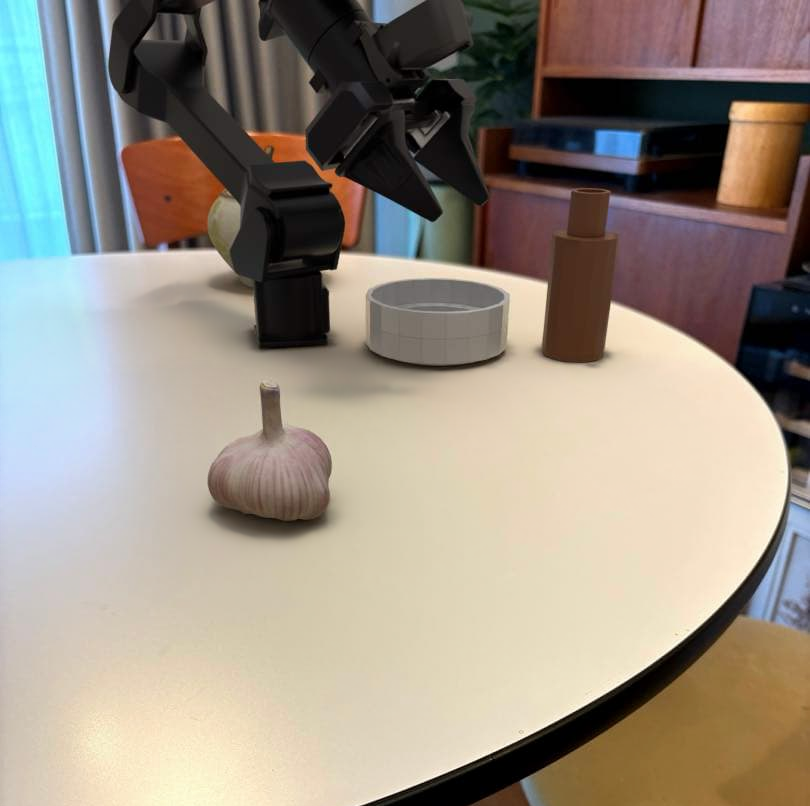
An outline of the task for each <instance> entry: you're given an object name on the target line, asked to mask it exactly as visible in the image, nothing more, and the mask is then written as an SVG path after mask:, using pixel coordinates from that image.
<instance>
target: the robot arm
mask: <svg viewBox="0 0 810 806" xmlns="http://www.w3.org/2000/svg"><path fill="white" fill-rule="evenodd" d="M216 1H217V0H128V1H127V3H126V4H125V5H124V7H123V8H122V9H121V11H120V12H119V14H118V15H117V16H116V18H115V19H114V21H113V23H112V28H111V35H110V43H109V52H108V60H107V69H108V76H109V80H110V83H111V86H112V87H113V90H114V91H115V92H116V93H117V95H118V96H119V98H120V100H122V102H123V103H124V104H125V105H127V106H128V107H129V108H131V109H132V110H133V111H135V112H136V113H137V114H139V115H142V116H144V117H148V118H150V119H153V120H157V121H158V122H159V121H160V122H162V123H165V124H167V125H168V126H169V127H170V128H171V129H172V130H173V132H174V133H175V134H176V135H177V136H178V137H179V138H180V139H181V141H183V142H184V144H185V145H186V146H187V147H188V148H189V149H190V151H192V153H193V155H195V156H196V157H197V158H198V159H199V161H200V162H201V163H202V164H203V165H204V166H205V167H206V169H208V170H209V172H210V174H212V175H213V176H214V177H215V178H216V180H217V181H218V182H219V183H220V184H221V185H222V186H223V188H225V189H226V190H227V191H228V192H229V193H230V194H231V195H232V196H233V197H234V198H235V200H236V201H237V202H238V203H239V205H240V230H239V232H238V234H237V236H236V238H235V240H234V242H233V244H232V246H231V248H230V256H231V260H232V264H233V268H234V271H235V272H234V271H233V272H234V274H235V275H237V274H238V275H241V276H244V277H247V278H250V279H252V282H253V287H252V295H253V307H254V317H255V318H254V319H255V324H254V325H253V331H254V335H255V338H256V341H257V344H258V347H259V348H276V347H279V348H280V347H293V346H294V347H295V346H296V347H297V346H310V345H311V346H312V345H325V344H328V343H329V337H328V335H327V334H328V333H330V332H331V319H330V317H331V315H330V291H329V288H328V287H327V286H326V284H325V283H323V273H322V272H324V271H336V270H337V269H338V266H339V261H340V255H341V251H342V245H343V240H344V235H345V230H346V219H345V213H344V211H343V209H342V205H341V203H340V200H338V198H337V197H336V195H335V194H334V193H333V192H332V191H331V189H332V188H333V183H332V182H329V181H326V180H325V179H323V178H322V177H321V176H320V174H319V173H318V171H317V170H316V169H315V168H314V166H313V165H312V164H311V163H309V162H308V161H307V160H293V161H291V160H290V161H279V162H275V161H274V160H273V158H272V159H271V158H270V157H269V156H268V155H267V154H266V153H265V150H264V149H263V148H262V147H261V146H260V145H259V144H258V143H257V142H256V141H255V140H254V139H253V138H252V137H251V136H250V135H249V134H248V132H247V131H246V130H245V129H244V128H243V127H242V126H241V125H240V124H239V123H238V122H237V121H236V120H235V119H234V117H232V115H230V113H229V112H228V111H227V110H226V109H225V108H224V107H223V106H222V105H221V104H220V103H219V102H218V101H217V100H216V99H215V98H214V97H213V95H211V94H210V92H208V90H207V89H206V88H205V87H204V86H205V66H206V61H207V57H208V53H209V51H208V49H209V48H208V46H207V42H206V39H205V37H204V33H203V30H202V27H201V24H200V16H201V11H202V8H203V7H205V6H207V5H210V4H211V3H215V2H216ZM257 4H258V9H259V18H258V23H257V29H258V37H259V39H260V40H261V41H262V42H267V41H270V40H274V39H276V38H281V37H284V36H286V37H287V39H288V40H289V41H290V43H291V44H292V46H293V47H294V49H295V50H296V51H297V52H298V54H299V55H300V56H301V58H302V59H303V60H304V62H305V63H306V64H307V66H308V67H309V68H310V70H311V71H312V72H313V74H314V75H313V76H312V77H311V78H310V79H309V81H308V84H309V85H310V87H311V88H312V89H313V91H314V92H315V93H316V94H329V95H330V96H329V98H328V99H327V101H326V102H325V103H324V104H323V106H322V107H321V108H320V110H319V111H318V113H317V114H316V115H315V116H314V117H313V119H312V120H311V121H310V123H309V124H308V125H307V126H306V128H305V129H304V134H305V135H304V136H305V137H304V138H305V151H306V152H307V153H308V155H309V156H310V158H311V159H312V160H313V161H314V163H315V164H316V165H317V167H318V168H319V169H320V171H321V172H325V171H330V170H334V174H335V175H336V176H337V177H339V178H345V179H348V180H349V181H351V182H353V183H355V184H357V185H359V186H362V187H364V188H366V189H368V190H370V191H371V192H374V193H376V194H378V195H380V196H382V197H384V198H385V199H387V200H390V201H391V202H393V203H395V204H396V205H398V206H401V207H402V208H404V209H406V210H407V211H410V212H411V213H413V214H415V215H417V216H418V217H421V218H423V219H424V220H426V221H429V222H430V223H435V222H436V221H438V220H439V219H440V218H441V217H442V216H443V214H444V210H443V208H442V206H441V204H440V202H439V200H438V198H437V196H436V193H435V192H434V191H433V189H432V187H431V186H430V184H429V183H428V180H427V179H426V177H425V175H424V173H423V172H422V170H421V168H420V167H419V165H420V166H421V167H423V168H424V169H426V170H427V171H428V172H430V173H432V174H433V175H434V176H435V177H437V178H438V179H440V180H441V181H443V182H444V183H445V184H447V185H448V186H449V187H451V189H454V190H455V191H456V192H458V193H459V194H460V195H462V196H463V197H465V198H466V199H467V200H468V201H471V202H472V203H473V204H475V205H476V206H478V207H482V206H483V205H484V204H486V203H487V202H488V201H489V200H490V197H491V196H490V193H489V189H488V188H487V185H486V181H485V179H484V177H483V174H482V171H481V169H480V168H481V167H480V165H479V163H478V160H477V158H476V154H475V153H474V149H473V146H472V143H471V140H470V136H469V130H470V124H471V119H472V116H473V114H474V113H475V103H476V101H477V98H478V97H477V96H476V94H475V93H474V92H473V90H472V89H471V88H470V86H469V85H468V84H467V82H466V81H465V79H464V78H463V79H462V78H461V79H460V78H432V79H430V78H431V77H432V75H431V73H430V71H428V68H430V67H432V66H434V65H436V64H438V63H439V62H441V61H443V60H445V59H447V58H449V57H450V56H453V55H454V54H456V53H460V54H461V53H465V52H466V51H467V50H469V49H470V48H472V47H473V46H474V41H473V36H472V34H471V31H470V28H471V27H473V24H474V16H473V14H471V13H469V12H468V11H467V10H466V8H465V5H464V2H463V1H461V0H423V1H422V2H420V3H419V4H417V5H416V6H413V7H412V8H410V9H409V10H407V11H405V12H404V13H401V14H400V15H399V16H397V17H395V18H394V19H392V20H390V21H389V22H374V21H373V20H372V18H371V17H370V15H369V14H368V13H367V11H366V10H365V9H364V8H363V6H362V4H360V2H359V1H358V0H258V3H257ZM158 14H159V15H160V14H161V15H178V16H179V15H181V16H183V17H182V18H183V20H184V23H185V26H186V31H185V35H184V40H175V39H174V40H171V39H144V37H145V36H146V35H147V33H148V32H149V31H150V29H151V28H152V27H153V25H154V24H155V22H156V21H157V17H158ZM429 79H430V81H429V83H427V82H428V80H429ZM426 83H427V85H426ZM424 85H426V86H425V87H424ZM423 87H424V88H423ZM422 88H423V89H422ZM419 89H422V91H421V92H420V93H419V94H417V93H416V92H417V91H418V90H419ZM412 153H413V154H414V156H413V155H412ZM418 164H419V165H418Z"/></svg>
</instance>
